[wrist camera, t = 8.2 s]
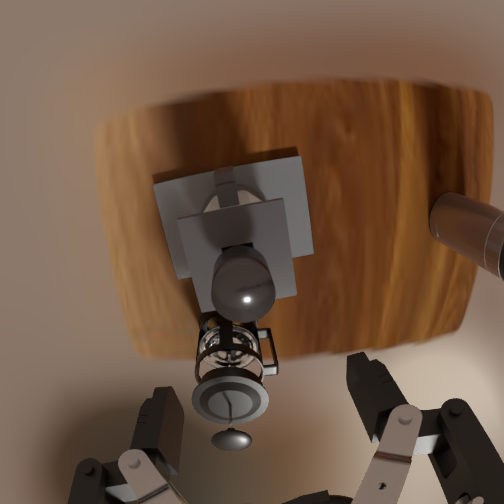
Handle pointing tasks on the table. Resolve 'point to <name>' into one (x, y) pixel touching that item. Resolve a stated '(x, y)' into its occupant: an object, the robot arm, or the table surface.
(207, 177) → the slate board
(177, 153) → the table surface
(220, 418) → the french press
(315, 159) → the table surface
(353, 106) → the table surface
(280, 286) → the carafe
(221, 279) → the plunger
